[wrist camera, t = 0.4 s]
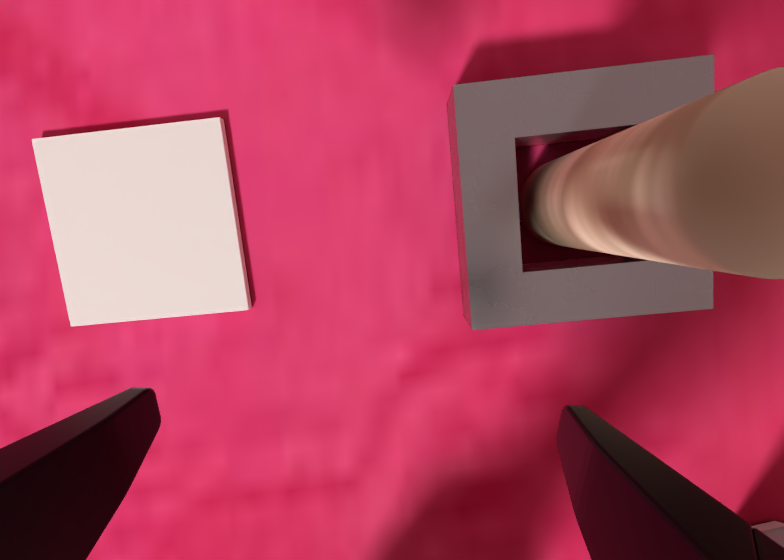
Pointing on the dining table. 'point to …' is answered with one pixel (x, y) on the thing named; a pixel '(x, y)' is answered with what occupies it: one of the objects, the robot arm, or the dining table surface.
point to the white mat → (144, 221)
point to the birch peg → (676, 186)
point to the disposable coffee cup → (772, 531)
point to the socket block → (500, 193)
